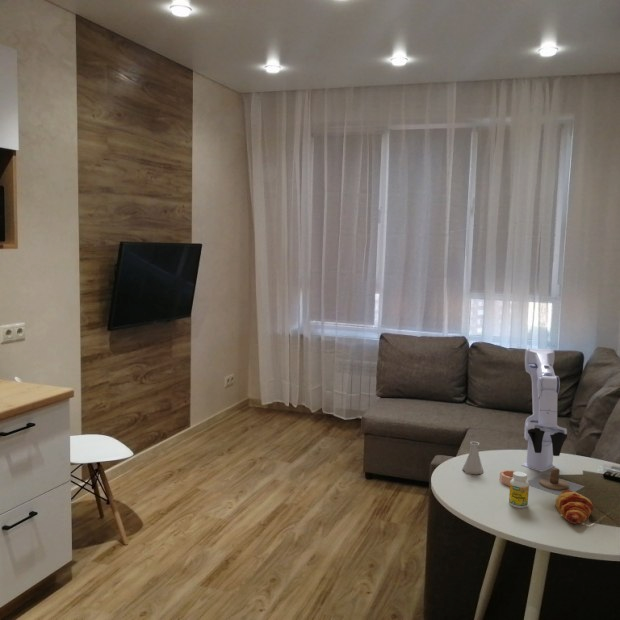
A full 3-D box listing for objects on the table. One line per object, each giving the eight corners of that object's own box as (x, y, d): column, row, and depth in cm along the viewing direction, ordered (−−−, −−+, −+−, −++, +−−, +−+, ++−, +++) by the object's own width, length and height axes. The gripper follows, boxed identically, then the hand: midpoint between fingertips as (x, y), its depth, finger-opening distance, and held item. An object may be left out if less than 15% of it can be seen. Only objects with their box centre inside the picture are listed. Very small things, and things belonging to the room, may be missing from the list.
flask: (481, 468, 213) (483, 440, 212) (485, 475, 206) (487, 447, 205) (460, 466, 214) (462, 439, 213) (463, 474, 206) (465, 445, 205)
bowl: (507, 477, 205) (507, 468, 205) (527, 483, 200) (528, 475, 200) (495, 482, 200) (496, 473, 200) (516, 489, 195) (516, 480, 195)
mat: (543, 474, 209) (543, 473, 209) (584, 487, 198) (584, 486, 198) (523, 484, 199) (523, 483, 199) (565, 498, 189) (565, 497, 189)
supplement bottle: (527, 502, 185) (529, 472, 184) (527, 509, 180) (530, 478, 179) (508, 499, 187) (510, 469, 186) (508, 506, 182) (510, 475, 181)
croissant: (560, 508, 190) (549, 484, 191) (592, 498, 187) (581, 474, 187) (564, 537, 170) (551, 510, 171) (600, 526, 167) (587, 499, 167)
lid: (547, 477, 205) (548, 462, 205) (573, 485, 199) (575, 470, 198) (534, 483, 199) (535, 468, 199) (561, 492, 193) (562, 476, 192)
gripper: (539, 408, 194) (538, 451, 190) (574, 414, 199) (574, 457, 195) (523, 409, 200) (522, 451, 197) (557, 415, 205) (557, 457, 202)
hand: (547, 454), depth 196 cm, fingers open, 7 cm apart
